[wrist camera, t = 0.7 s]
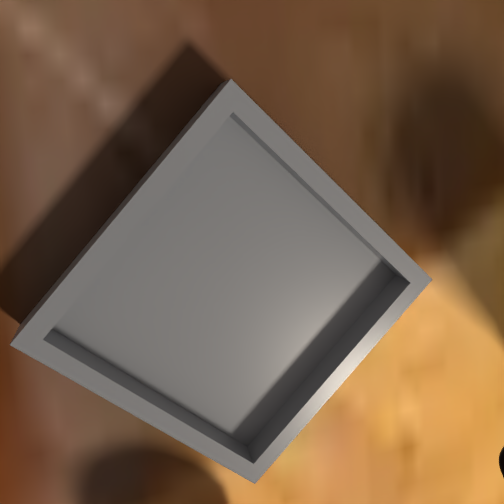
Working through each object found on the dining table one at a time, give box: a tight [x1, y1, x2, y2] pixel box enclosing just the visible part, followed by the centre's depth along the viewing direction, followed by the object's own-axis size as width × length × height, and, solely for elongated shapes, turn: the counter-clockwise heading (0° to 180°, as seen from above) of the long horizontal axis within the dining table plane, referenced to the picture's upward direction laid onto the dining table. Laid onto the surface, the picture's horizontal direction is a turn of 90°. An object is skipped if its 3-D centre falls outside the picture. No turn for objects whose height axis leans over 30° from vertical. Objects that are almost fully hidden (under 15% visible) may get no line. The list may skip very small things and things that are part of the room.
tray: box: [10, 79, 432, 484], centre depth 20 cm, size 13×13×2 cm
